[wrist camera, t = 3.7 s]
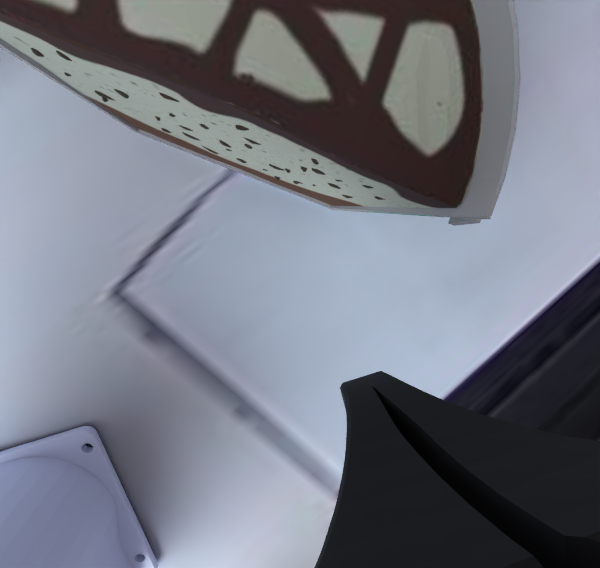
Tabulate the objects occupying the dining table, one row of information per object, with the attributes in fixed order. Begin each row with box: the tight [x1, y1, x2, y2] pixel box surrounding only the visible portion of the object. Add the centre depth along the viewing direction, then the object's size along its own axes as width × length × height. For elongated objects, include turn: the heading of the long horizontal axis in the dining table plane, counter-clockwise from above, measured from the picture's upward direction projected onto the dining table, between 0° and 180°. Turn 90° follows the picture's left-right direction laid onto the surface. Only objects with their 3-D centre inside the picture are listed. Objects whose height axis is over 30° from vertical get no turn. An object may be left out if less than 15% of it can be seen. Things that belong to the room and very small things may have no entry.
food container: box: [0, 0, 520, 225], centre depth 10 cm, size 12×6×10 cm, turn 70°
